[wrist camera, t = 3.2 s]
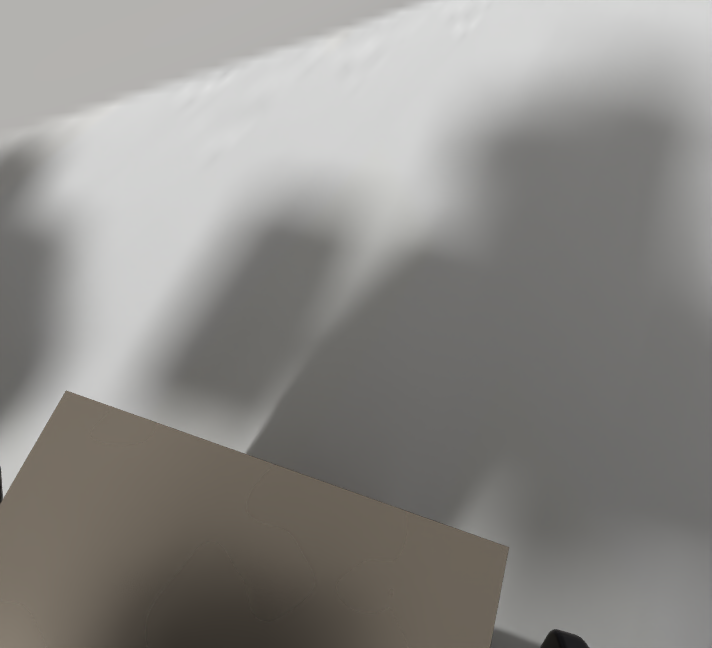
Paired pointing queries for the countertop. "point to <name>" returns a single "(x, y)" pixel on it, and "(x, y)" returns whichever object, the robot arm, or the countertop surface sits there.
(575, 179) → the countertop surface
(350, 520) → the block
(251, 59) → the countertop surface
